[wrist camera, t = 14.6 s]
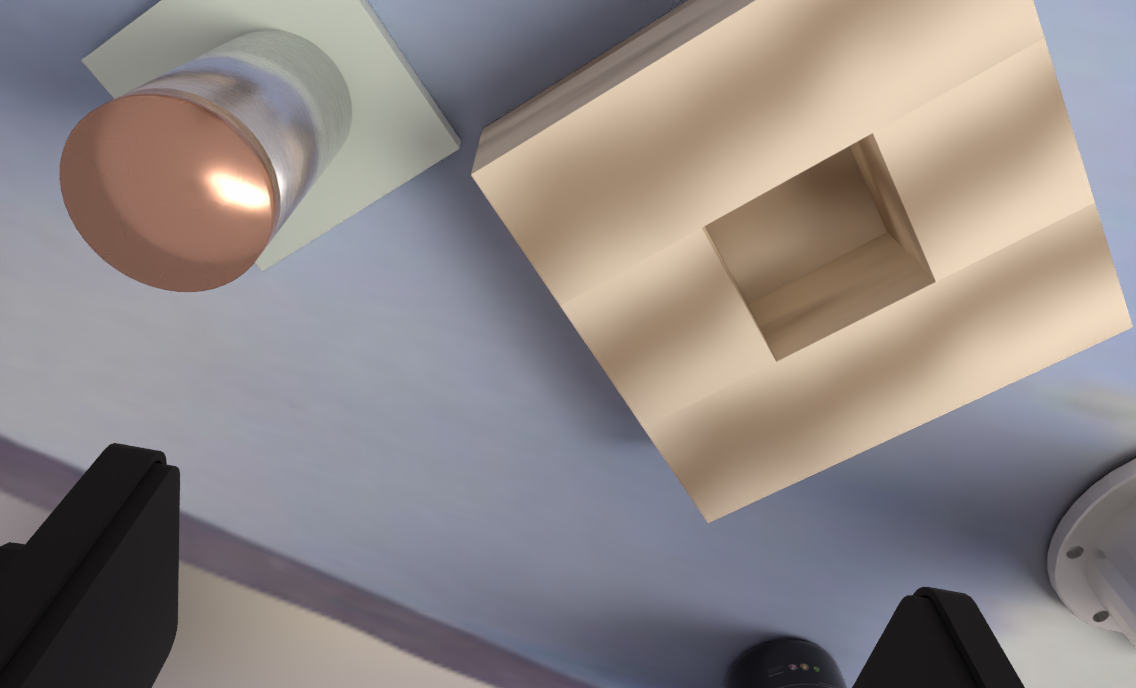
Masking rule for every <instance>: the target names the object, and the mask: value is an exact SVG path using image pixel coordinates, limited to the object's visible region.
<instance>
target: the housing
mask: <svg viewBox="0 0 1136 688" xmlns="http://www.w3.org/2000/svg"><path fill="white" fill-rule="evenodd" d="M471 176H472V177H473V179H474V180H475V182H476V183H477V185H478V186H479V187H480V189H481V190H482V192H483V193H484V195H485V196H486V198H487V199H488V201H489V202H490V204H491V205H492V207H493V208H494V209H495V211H496V212H497V214H498V215H499V217H500V218H501V220H502V221H503V223H504V224H505V226H506V227H507V229H508V230H509V232H510V233H511V234H512V236H513V237H514V239H515V240H516V242H517V243H518V245H519V246H520V248H521V249H522V251H523V252H524V254H525V255H526V256H527V258H528V259H529V261H530V262H531V264H532V265H533V267H534V268H535V270H536V271H537V273H538V274H539V276H540V277H541V279H542V280H543V281H544V283H545V284H546V286H547V287H548V289H549V290H550V292H551V293H552V295H553V296H554V298H555V299H556V301H557V302H558V303H559V305H560V306H561V308H562V309H563V311H564V312H565V314H566V315H567V317H568V318H569V320H570V321H571V323H572V324H573V326H574V327H575V328H576V330H577V331H578V333H579V334H580V336H581V337H582V339H583V340H584V342H585V343H586V345H587V346H588V348H589V349H590V350H591V352H592V353H593V355H594V356H595V358H596V359H597V361H598V362H599V364H600V365H601V367H602V368H603V370H604V371H605V373H606V374H607V375H608V377H609V378H610V380H611V381H612V383H613V384H614V386H615V387H616V389H617V390H618V392H619V393H620V395H621V396H622V397H623V399H624V400H625V402H626V403H627V405H628V406H629V408H630V409H631V411H632V412H633V414H634V415H635V417H636V418H637V420H638V421H639V422H640V424H641V425H642V427H643V428H644V430H645V431H646V433H647V434H648V436H649V437H650V439H651V440H652V442H653V443H654V444H655V446H656V447H657V449H658V450H659V452H660V453H661V455H662V456H663V458H664V459H665V461H666V462H667V464H668V465H669V467H670V468H671V469H672V471H673V472H674V474H675V475H676V477H677V478H678V480H679V481H680V483H681V484H682V486H683V487H684V489H685V490H686V492H687V493H688V494H689V496H690V497H691V499H692V500H693V502H694V503H695V505H696V506H697V508H698V509H699V511H700V512H701V514H702V515H703V516H704V518H705V519H706V521H707V522H708V523H710V522H712V521H714V520H716V519H719V518H721V517H723V516H725V515H727V514H729V513H732V512H734V511H736V510H738V509H740V508H742V507H745V506H747V505H749V504H751V503H753V502H755V501H758V500H760V499H762V498H764V497H766V496H768V495H771V494H773V493H775V492H777V491H779V490H781V489H784V488H786V487H788V486H790V485H792V484H794V483H797V482H799V481H801V480H803V479H805V478H807V477H810V476H812V475H814V474H816V473H818V472H820V471H823V470H825V469H827V468H829V467H831V466H833V465H836V464H838V463H840V462H842V461H844V460H846V459H849V458H851V457H853V456H855V455H857V454H859V453H861V452H864V451H866V450H868V449H870V448H872V447H874V446H877V445H879V444H881V443H883V442H885V441H887V440H890V439H892V438H894V437H896V436H898V435H900V434H903V433H905V432H907V431H909V430H911V429H913V428H916V427H918V426H920V425H922V424H924V423H926V422H929V421H931V420H933V419H935V418H937V417H939V416H942V415H944V414H946V413H948V412H950V411H952V410H955V409H957V408H959V407H961V406H963V405H965V404H968V403H970V402H972V401H974V400H976V399H978V398H981V397H983V396H985V395H987V394H989V393H991V392H994V391H996V390H998V389H1000V388H1002V387H1004V386H1007V385H1009V384H1011V383H1013V382H1015V381H1017V380H1020V379H1022V378H1024V377H1026V376H1028V375H1030V374H1033V373H1035V372H1037V371H1039V370H1041V369H1043V368H1046V367H1048V366H1050V365H1052V364H1054V363H1056V362H1059V361H1061V360H1063V359H1065V358H1067V357H1069V356H1072V355H1074V354H1076V353H1078V352H1080V351H1082V350H1085V349H1087V348H1089V347H1091V346H1093V345H1095V344H1098V343H1100V342H1102V341H1104V340H1106V339H1108V338H1111V337H1113V336H1115V335H1117V334H1119V333H1121V332H1124V331H1126V330H1128V329H1130V328H1132V327H1133V326H1132V323H1131V319H1130V316H1129V313H1128V309H1127V306H1126V303H1125V300H1124V296H1123V293H1122V290H1121V287H1120V283H1119V280H1118V277H1117V273H1116V270H1115V267H1114V264H1113V260H1112V257H1111V254H1110V251H1109V247H1108V244H1107V241H1106V237H1105V234H1104V231H1103V228H1102V224H1101V221H1100V218H1099V215H1098V211H1097V208H1096V205H1095V201H1094V198H1093V195H1092V192H1091V188H1090V185H1089V182H1088V179H1087V175H1086V172H1085V169H1084V166H1083V162H1082V159H1081V156H1080V152H1079V149H1078V146H1077V143H1076V139H1075V136H1074V133H1073V130H1072V126H1071V123H1070V120H1069V116H1068V113H1067V110H1066V107H1065V103H1064V100H1063V97H1062V94H1061V90H1060V87H1059V84H1058V80H1057V77H1056V74H1055V71H1054V67H1053V64H1052V61H1051V58H1050V54H1049V51H1048V48H1047V44H1046V41H1045V38H1044V35H1043V31H1042V28H1041V25H1040V22H1039V18H1038V15H1037V12H1036V8H1035V5H1034V2H1033V0H688V1H686V2H684V3H683V4H681V5H680V6H678V7H676V8H675V9H673V10H672V11H670V12H668V13H667V14H665V15H664V16H662V17H660V18H659V19H657V20H656V21H654V22H652V23H651V24H649V25H648V26H646V27H644V28H643V29H641V30H640V31H638V32H636V33H635V34H633V35H632V36H630V37H628V38H627V39H625V40H624V41H622V42H620V43H619V44H617V45H616V46H614V47H612V48H611V49H609V50H608V51H606V52H604V53H603V54H601V55H600V56H598V57H596V58H595V59H593V60H592V61H590V62H588V63H587V64H585V65H584V66H582V67H580V68H579V69H577V70H576V71H574V72H572V73H571V74H569V75H568V76H566V77H564V78H563V79H561V80H560V81H558V82H556V83H555V84H553V85H552V86H550V87H548V88H547V89H545V90H544V91H542V92H541V93H539V94H537V95H536V96H534V97H533V98H531V99H529V100H528V101H526V102H525V103H523V104H521V105H520V106H518V107H517V108H515V109H513V110H512V111H510V112H509V113H507V114H505V115H504V116H502V117H501V118H499V119H497V120H496V121H494V122H493V123H491V124H489V125H488V126H486V127H485V128H483V129H482V132H481V136H480V140H479V144H478V148H477V152H476V156H475V160H474V164H473V168H472V172H471Z"/></svg>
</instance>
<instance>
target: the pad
mask: <svg viewBox="0 0 1136 688" xmlns="http://www.w3.org/2000/svg"><path fill="white" fill-rule="evenodd" d="M262 29H276V30H282V31H287V32H290V33H294V34H296V35H299V36H301V37H303V38H305V39H307V40H309V41H310V42H312V43H314V44H315V45H316V46H318V47H319V48H320V49H322V50H323V51H324V52H325V53H326V54H327V55H328V56H329V57H330V58H331V59H332V61H333V62H334V63H335V64H336V66H337V67H338V69H339V70H340V72H341V73H342V75H343V77H344V79H345V81H346V84H347V87H348V90H349V92H350V97H351V102H352V122H351V128H350V131H349V134H348V137H347V139H346V141H345V143H344V145H343V146H342V148H341V149H340V151H339V152H338V153H337V155H336V156H335V157H334V159H333V160H332V161H331V163H330V164H329V165H328V167H327V168H326V169H325V171H324V172H323V173H322V174H321V176H320V177H319V178H318V180H317V181H316V182H315V184H314V185H313V186H312V188H311V189H310V190H309V192H308V193H307V194H306V196H305V197H304V198H303V199H302V201H301V202H300V203H299V205H298V206H297V207H296V209H295V210H294V211H293V213H292V214H291V215H290V217H289V218H288V219H287V221H286V222H285V223H284V225H283V226H282V227H281V228H280V230H279V231H278V232H277V234H276V235H275V236H274V238H273V239H272V240H271V242H270V243H269V244H268V246H267V247H266V248H265V250H264V251H263V252H262V253H261V255H260V256H259V257H258V259H257V260H256V261H255V263H256V265H257V266H258V267H259V268H260V269H261V270H262V272H263V271H264V270H266V269H268V268H269V267H271V266H272V265H274V264H276V263H277V262H279V261H280V260H282V259H284V258H285V257H287V256H288V255H290V254H292V253H293V252H295V251H296V250H298V249H300V248H301V247H303V246H304V245H306V244H308V243H309V242H311V241H312V240H314V239H316V238H317V237H319V236H320V235H322V234H324V233H325V232H327V231H328V230H330V229H332V228H333V227H335V226H336V225H338V224H340V223H341V222H343V221H344V220H346V219H348V218H349V217H351V216H353V215H354V214H356V213H357V212H359V211H361V210H362V209H364V208H365V207H367V206H369V205H370V204H372V203H373V202H375V201H377V200H378V199H380V198H381V197H383V196H385V195H386V194H388V193H389V192H391V191H393V190H394V189H396V188H397V187H399V186H401V185H402V184H404V183H405V182H407V181H409V180H410V179H412V178H413V177H415V176H417V175H418V174H420V173H421V172H423V171H425V170H426V169H428V168H429V167H431V166H433V165H434V164H436V163H437V162H439V161H441V160H442V159H444V158H445V157H447V156H449V155H450V154H452V153H453V152H455V151H457V150H458V149H460V145H461V140H460V139H459V137H458V136H457V134H456V133H455V131H454V130H453V128H452V127H451V125H450V124H449V122H448V121H447V119H446V118H445V116H444V115H443V113H442V112H441V110H440V109H439V108H438V106H437V105H436V103H435V102H434V100H433V99H432V97H431V96H430V94H429V93H428V91H427V90H426V88H425V87H424V85H423V84H422V82H421V81H420V79H419V78H418V76H417V75H416V73H415V72H414V70H413V69H412V67H411V66H410V64H409V63H408V61H407V60H406V58H405V57H404V55H403V54H402V53H401V51H400V50H399V48H398V47H397V45H396V44H395V42H394V41H393V39H392V38H391V36H390V35H389V33H388V32H387V30H386V29H385V27H384V26H383V24H382V23H381V21H380V20H379V18H378V17H377V15H376V14H375V12H374V11H373V9H372V8H371V6H370V5H369V3H368V2H367V1H366V0H161V1H160V2H158V3H157V4H156V5H154V6H153V7H151V8H150V9H149V10H147V11H146V12H145V13H143V14H142V15H141V16H139V17H138V18H137V19H135V20H134V21H133V22H131V23H130V24H129V25H127V26H126V27H125V28H123V29H122V30H121V31H119V32H118V33H117V34H115V35H114V36H113V37H111V38H110V39H109V40H107V41H106V42H105V43H103V44H102V45H101V46H99V47H98V48H97V49H95V50H94V51H93V52H91V53H90V54H89V55H87V56H86V57H85V58H83V59H82V60H81V61H82V62H83V63H84V64H85V65H86V67H87V68H88V69H89V70H90V71H91V72H92V74H93V75H94V76H95V77H96V78H97V79H98V81H99V82H100V83H101V84H102V85H103V86H104V88H105V89H106V90H107V91H108V92H109V93H110V95H111V96H112V97H113V98H114V99H115V98H117V97H119V96H121V95H123V94H125V93H127V92H129V91H131V90H133V89H135V88H137V87H139V86H141V85H143V84H145V83H147V82H149V81H151V80H153V79H155V78H157V77H159V76H161V75H163V74H165V73H167V72H169V71H171V70H173V69H175V68H177V67H179V66H181V65H183V64H185V63H187V62H189V61H191V60H192V59H194V58H196V57H198V56H200V55H202V54H204V53H206V52H208V51H210V50H212V49H214V48H216V47H218V46H220V45H222V44H224V43H226V42H228V41H230V40H232V39H234V38H236V37H238V36H240V35H243V34H245V33H247V32H251V31H255V30H262Z"/></svg>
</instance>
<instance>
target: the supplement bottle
mask: <svg viewBox="0 0 1136 688" xmlns="http://www.w3.org/2000/svg"><path fill="white" fill-rule="evenodd" d="M725 688H847V686H846V684H845V681H844V679H843V677H842V674H841V672H840V669H839V667H838V665H837V663H836V662H835V660H834V659H833V658H832V656H831V655H830V654H829V653H828V652H826V651H825V650H824V649H822V648H821V647H819V646H817V645H815V644H812V643H809V642H806V641H801V640H791V639H787V640H776V641H771V642H767V643H764V644H761V645H759V646H757V647H755V648H753V649H751V650H749V651H748V652H746V653H745V654H743V655H742V656H741V657H740V658H739V659H738V660H737V661H736V662H735V663H734V665H733V666H732V667H731V669H730V671H729V673H728V676H727V678H726V683H725Z"/></svg>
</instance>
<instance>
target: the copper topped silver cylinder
mask: <svg viewBox="0 0 1136 688" xmlns="http://www.w3.org/2000/svg"><path fill="white" fill-rule="evenodd" d="M351 122H352V102H351V97H350V92H349V90H348V87H347V84H346V81H345V79H344V77H343V75H342V73H341V72H340V70H339V69H338V67H337V66H336V64H335V63H334V62H333V61H332V59H331V58H330V57H329V56H328V55H327V54H326V53H325V52H324V51H323V50H322V49H320V48H319V47H318V46H316V45H315V44H314V43H312V42H310V41H309V40H307V39H305V38H303V37H301V36H299V35H296V34H294V33H290V32H287V31H282V30H276V29H262V30H255V31H251V32H247V33H245V34H243V35H240V36H238V37H236V38H234V39H232V40H230V41H228V42H226V43H224V44H222V45H220V46H218V47H216V48H214V49H212V50H210V51H208V52H206V53H204V54H202V55H200V56H198V57H196V58H194V59H192V60H191V61H189V62H187V63H185V64H183V65H181V66H179V67H177V68H175V69H173V70H171V71H169V72H167V73H165V74H163V75H161V76H159V77H157V78H155V79H153V80H151V81H149V82H147V83H145V84H143V85H141V86H139V87H137V88H135V89H133V90H131V91H129V92H127V93H125V94H123V95H121V96H119V97H117V98H115V99H113V100H111V101H109V102H107V103H106V104H104V105H102V106H100V107H98V108H96V109H95V110H93V111H92V112H90V113H89V114H87V115H86V116H85V117H84V118H83V119H82V120H81V121H80V122H79V123H78V124H77V125H76V127H75V128H74V129H73V130H72V132H71V134H70V135H69V137H68V139H67V141H66V143H65V146H64V149H63V152H62V157H61V162H60V185H61V192H62V195H63V199H64V203H65V206H66V208H67V211H68V213H69V216H70V218H71V220H72V221H73V223H74V225H75V227H76V229H77V230H78V231H79V233H80V234H81V236H82V237H83V239H84V240H85V241H86V242H87V243H88V245H89V246H90V247H91V248H92V249H93V250H94V251H95V252H96V253H97V254H98V255H99V256H100V257H101V258H102V259H103V260H105V261H106V262H107V263H108V264H110V265H111V266H112V267H114V268H115V269H117V270H118V271H120V272H122V273H123V274H125V275H126V276H128V277H130V278H132V279H135V280H137V281H139V282H141V283H144V284H147V285H149V286H152V287H156V288H160V289H164V290H170V291H177V292H197V291H205V290H210V289H214V288H218V287H220V286H223V285H226V284H228V283H230V282H231V281H233V280H235V279H237V278H238V277H240V276H241V275H242V274H244V273H245V272H246V271H247V270H248V269H249V268H250V267H251V266H252V265H253V264H254V263H255V261H256V260H257V259H258V257H259V256H260V255H261V253H262V252H263V251H264V250H265V248H266V247H267V246H268V244H269V243H270V242H271V240H272V239H273V238H274V236H275V235H276V234H277V232H278V231H279V230H280V228H281V227H282V226H283V225H284V223H285V222H286V221H287V219H288V218H289V217H290V215H291V214H292V213H293V211H294V210H295V209H296V207H297V206H298V205H299V203H300V202H301V201H302V199H303V198H304V197H305V196H306V194H307V193H308V192H309V190H310V189H311V188H312V186H313V185H314V184H315V182H316V181H317V180H318V178H319V177H320V176H321V174H322V173H323V172H324V171H325V169H326V168H327V167H328V165H329V164H330V163H331V161H332V160H333V159H334V157H335V156H336V155H337V153H338V152H339V151H340V149H341V148H342V146H343V145H344V143H345V141H346V139H347V137H348V134H349V131H350V128H351Z"/></svg>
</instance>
